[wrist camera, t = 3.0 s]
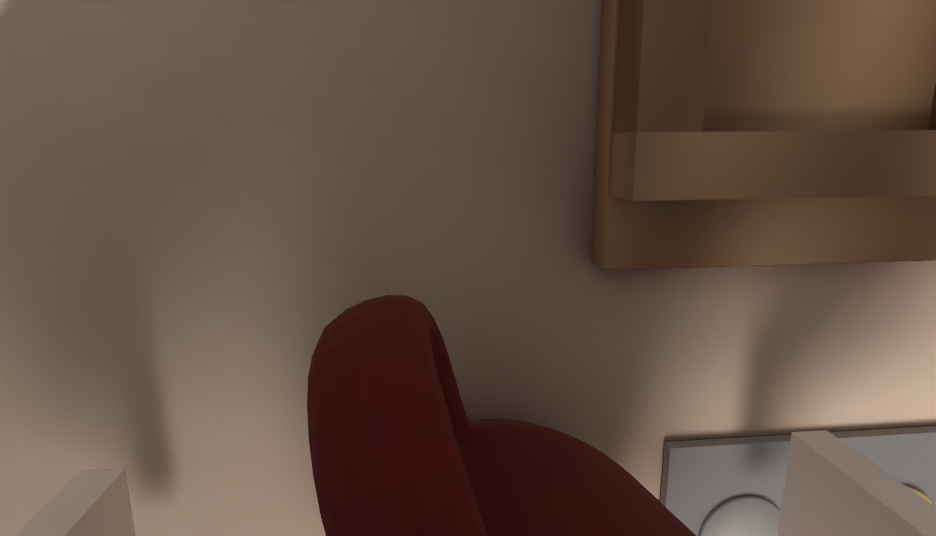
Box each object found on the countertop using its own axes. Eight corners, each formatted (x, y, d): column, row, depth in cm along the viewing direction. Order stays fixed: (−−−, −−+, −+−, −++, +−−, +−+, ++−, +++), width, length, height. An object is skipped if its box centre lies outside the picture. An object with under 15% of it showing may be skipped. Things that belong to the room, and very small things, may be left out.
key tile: (651, 615, 15) (659, 631, 14) (665, 441, 14) (674, 452, 13) (932, 590, 15) (949, 605, 15) (967, 423, 14) (986, 433, 14)
